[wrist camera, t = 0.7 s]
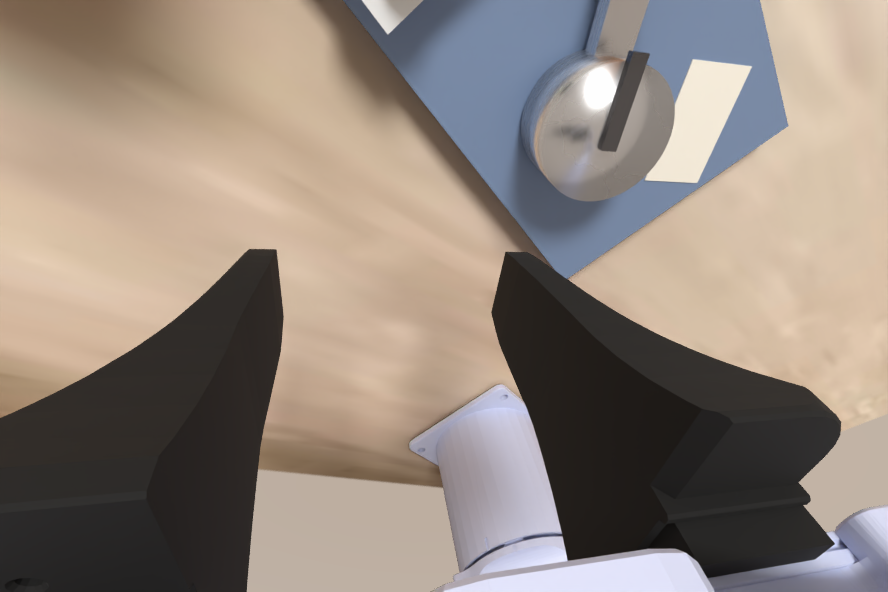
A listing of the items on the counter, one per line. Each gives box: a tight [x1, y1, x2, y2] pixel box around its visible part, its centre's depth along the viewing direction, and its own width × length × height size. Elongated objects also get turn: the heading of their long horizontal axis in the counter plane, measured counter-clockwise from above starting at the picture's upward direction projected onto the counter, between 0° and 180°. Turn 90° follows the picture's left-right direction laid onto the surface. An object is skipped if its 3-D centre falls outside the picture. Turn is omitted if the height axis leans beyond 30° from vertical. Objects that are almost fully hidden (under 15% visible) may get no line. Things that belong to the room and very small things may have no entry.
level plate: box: [343, 0, 788, 279], centre depth 16 cm, size 18×12×4 cm, turn 39°
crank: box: [521, 0, 675, 201], centre depth 15 cm, size 9×5×4 cm, turn 174°
